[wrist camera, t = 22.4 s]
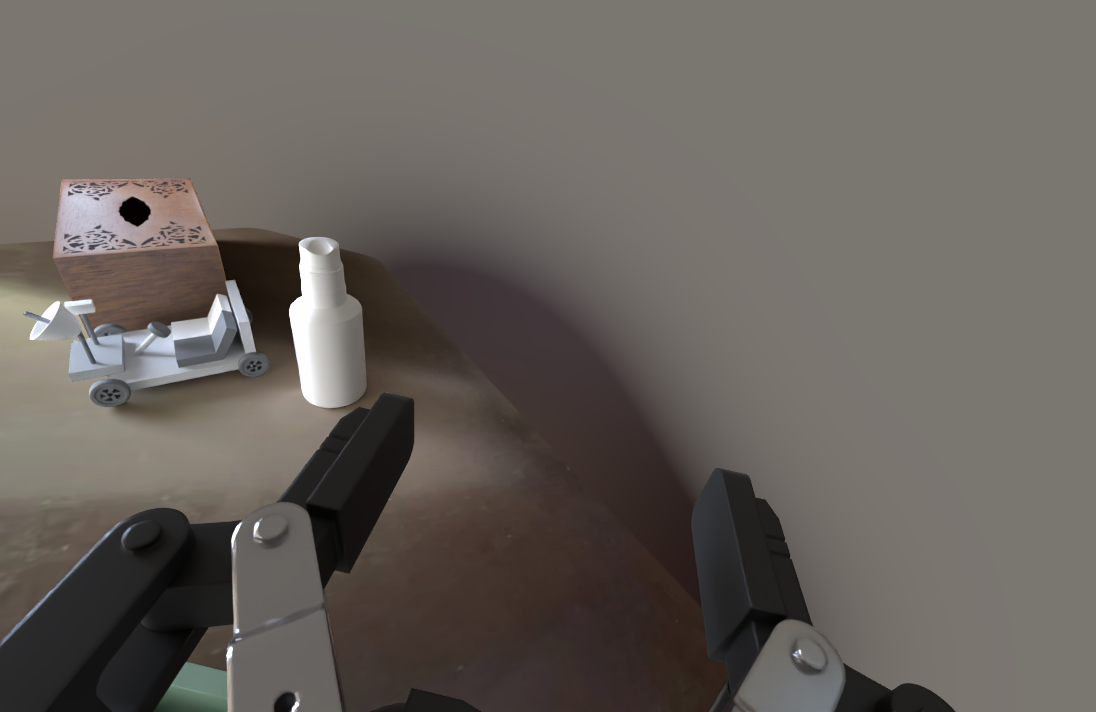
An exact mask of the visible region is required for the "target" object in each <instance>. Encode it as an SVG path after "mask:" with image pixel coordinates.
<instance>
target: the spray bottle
mask: <svg viewBox="0 0 1096 712" xmlns="http://www.w3.org/2000/svg"><path fill="white" fill-rule="evenodd" d="M299 249H300V256H301V260H300V265H299V268H300V275H301V282H302V284H301V289H302V296H301V297H299V298H297V299H296V300H295V301H294V302H293V303H292V304H291V306H290V310H289V315H290V321H291V327H292V333H293V339H294V345H295V351H296V357H297V363H298V369H299V375H300V381H301V387H302V392H303V395H304V397H305V398H306V399H307V400H308V401H309V402H310V403H311V404H313V405H316V406H318V407H324V408H339V407H343V406H347V405H350V404H352V403H354V402H356V401H357V400H358V399H359V398H361V397H362V396H363V394H364V392H365V390H366V386H367V381H366V366H365V350H364V334H363V319H362V307H361V304H360V303H359V301H358V300H357V299H355V298H354V297H352V296H351V295H348V294H346V284H345V281H344V269H343V264H342V262H341V259H340V252H339V244H338V242H337V241H335V240H333V239H330V238H325V237H311V238H306V239H304V240H302V241H300V243H299Z"/></svg>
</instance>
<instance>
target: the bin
mask: <svg viewBox="0 0 1096 712" xmlns="http://www.w3.org/2000/svg"><path fill="white" fill-rule="evenodd" d="M154 712H228V692H227V672H225V671H221V670H217V669H213V668H209V667H205V666H201V665H197V664H193V663H189V662H186V663H185V664H184V666H183V667H182V669H181V670H180V672H179V673H178V675H177V676H176V678H175V679H174V681H173V683H172V684H171V686H170V687H169V689H168V690H167V692H166V693H165V695H164V696H163V698H162V699H161V701H160V702H159V704H158V705H157V707H156V709H155V710H154Z"/></svg>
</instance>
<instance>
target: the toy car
mask: <svg viewBox="0 0 1096 712" xmlns="http://www.w3.org/2000/svg"><path fill="white" fill-rule="evenodd" d="M225 283H226V287H227V291H228V295H229V299H230V303H231V307H232V308H230V305H229V302H228V299H227V296H225V295H221V294H217V295H216V297H215V299H214V302H213V304H212V307H211V309H210V312H209V314H208V316H207V317H206V318H199V319H191V320H184V321H177V322H171V326H165V325H164V324H162V323H159V322H156V321H153V322H151V323H150V324H149V325H148V327H147V328H148V329H143V330H137V331H130V332H128V331H127V330H126V329H125V328H124V327H122V326H120V325H117V324H103V325H100V326H98V327H97V328H95V330H93V328H92V326H91V324H90V321H89V319H88V317H87V315H86V313H94V312H95V305H94V303H93V301H92V299H88V300H79V301H70V302H65V304H64V306H63V305H62V304H61V303H59V302H56V303H54V304H53V305H51V306H50V307H49V308H48V309H47V310H46V311H45V312H44V314H43V315H42V316H38V315H35V314H33V313H30V312H27V311H25V312H24V314H23V315H25V316H28V317H30V318H33V319H36V320H38V322H37V323H36V325H35V326H34V328H33V330H32V332H31V335H30V339H31V340H64V339H70V338H74V337H76V336H78V338H79V340H77V341H72V345H71V354H70V363H69V373H68V374H69V376H70V378H71V380H72V382H74V381H79V380H85V379H90V378H96V377H102V376H107V379H103V380H100V381H98V382H96V383H94V384H93V385H92V386H91V388H90V390H89V398H90V400H91V401H92V402H93V403H95V404H97V405H99V406H104V407H113V406H118V405H121V404H123V403H125V402H126V401H127V400H128V399H129V397H130V394H131V392H130V391H132V390H137V389H142V388H147V387H152V386H157V385H162V384H167V383H172V382H177V381H182V380H187V379H192V378H197V377H202V376H207V375H212V374H218V373H223V372H228V371H233V370H238V369H239V370H240V372H241V373H242V374H243V375H245V376H248V377H257V376H260V375H262V374H264V373H265V372H266V371H267V370H268V369H269V361H268V358H267V357H266V356H265V355H264V354H262V353H259V352H256V349H255V345H254V340H253V336H252V331H251V327H250V324H251V323H252V321H253V316H252V314H251V312H250V310H248V309H247V308H245V307H244V305H243V302H242V299H241V296H240V293H239V291H238V288H237V285H236V282H235V280H230V281H225ZM78 314H81V316H82V318H83V321H84V323H85V325H86V327H87V329H88V332H89V334H90V336H91V339H85V338H84V335H83V333H82V331H81V326H80V324H79V322H78V320H77V319H76V318H75V317H74V316H73V315H78ZM107 332H109V333H107ZM258 366H259V367H258Z"/></svg>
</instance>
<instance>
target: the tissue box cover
mask: <svg viewBox="0 0 1096 712" xmlns="http://www.w3.org/2000/svg"><path fill="white" fill-rule="evenodd" d="M53 260H54V262H55V264H56V266H57V269H58V271H59V273H60V275H61V277H62V279H63V282H64V284H65V286H66V288H67V290H68V292H69V295H70V297H71V299H72V301H79V300H88V299H92V301H93V303H94V305H95V312H94V313H86V315H87V317H88V319H89V321H90V324H91V326H92V328H93V330H95V328H97V327H98V326H100V325H103V324H117V325H120V326H122V327H124V328H125V329H126V330H127V331H128V332H130V331H136V330H143V329H148V328H147V327H148V325H149V324H150V323H151V322H153V321H156V322H159V323H162V324H164V325H165V326H169V325H171V322H177V321H184V320H191V319H199V318H206V317H207V316H208V314H209V312H210V309H211V307H212V304H213V302H214V299H215V297H216V295H217V294H221V295H225V296H227V299H228V302H229V305H230V308H232V307H231V303H230V299H229V295H228V291H227V287H226V283H225V281H226V277H225V273H224V269H223V265H222V261H221V257H220V253H219V249H218V245H217V242H216V240H215V237H214V235H213V232H212V230H211V228H210V225H209V223H208V220H207V218H206V215H205V213H204V210H203V208H202V206H201V203H200V201H199V198H198V196H197V193H196V191H195V188H194V186H193V184H192V181H191V179H107V180H106V179H103V180H102V179H100V180H62V182H61V191H60V199H59V208H58V217H57V225H56V234H55V242H54V251H53ZM79 316H80V318H81V321H82V323H83V325H84V327H85V329H86V331H87V334H88V336H89V338H90V337H91V336H90V334H89V332H88V329H87V327H86V325H85V323H84V321H83V318H82V316H81V314H79ZM107 333H109V332H107Z"/></svg>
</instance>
